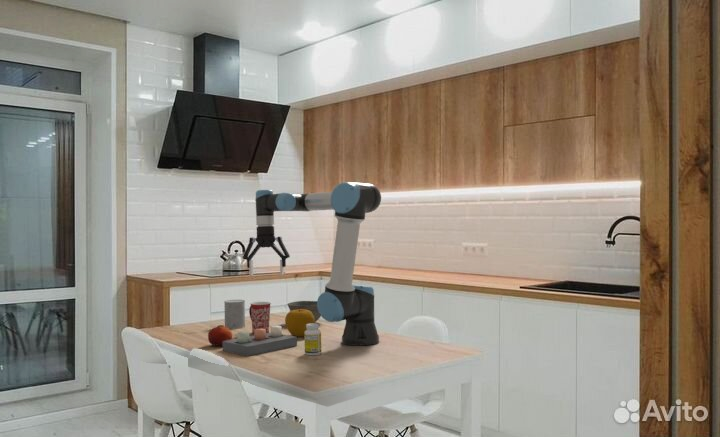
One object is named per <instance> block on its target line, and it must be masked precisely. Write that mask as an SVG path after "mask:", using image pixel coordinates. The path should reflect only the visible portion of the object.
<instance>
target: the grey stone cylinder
mask: <svg viewBox="0 0 720 437" xmlns="http://www.w3.org/2000/svg"><path fill="white" fill-rule="evenodd" d="M245 306H246V301H245V300H244V299H227V300H224V326H225V327H227V328H228V329H229V330H231V329H232V330H235V329H237V328H238V329H243V327H244V328H245V327H246V313H245V312H246V309H245V308H246V307H245Z"/></svg>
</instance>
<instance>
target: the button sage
mask: <svg viewBox="0 0 720 437" xmlns="http://www.w3.org/2000/svg"><path fill="white" fill-rule="evenodd" d="M236 334H237V338H236V339H238V343H239V344H245V343H249V336H250V332H249V331H238V332H237V333H236Z"/></svg>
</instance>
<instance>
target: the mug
mask: <svg viewBox="0 0 720 437" xmlns="http://www.w3.org/2000/svg"><path fill="white" fill-rule="evenodd" d="M271 305H272V303H271V302H270V301H253V302H250V307H249V309H248V310H249V311H248V312H249V314H248V315H249V317H250V321H251V329H252V330H251V331H252V334H253V335H254V330H255V329H266V333H270V319H271Z"/></svg>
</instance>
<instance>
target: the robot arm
mask: <svg viewBox="0 0 720 437" xmlns="http://www.w3.org/2000/svg"><path fill="white" fill-rule="evenodd" d="M381 201H382V195H381V191H380V190H379V188H378V187H376V186H375V185H374V184H372V183H365V182H364V183H363V182H355V181H354V182H353V181H347V182H341V183H339V184H338V185H337V186H335V187H334V189H333V190H332V191H327V192H313V193H311V192H310V193H291V192H280V193H274V191H273V190H272V189H260V190H256V192H255V214H256V215H255V216H256V217H255V219H256V221H255V222H256V237H252V236H251V237H249V240H248V241H249V242H248V245H247V247H246V249H245V251H244V254H243V255H242V259H243V260H246V263H247V266H246V267H247V268H248V269H249V276H250V277H251V276H254V260H253V258H254V256H255V255H256V254H257V252H258V251H259V250H260V249H261V248H262V249H263V248H271V249H273V251H274V252H275V253H276V254H277V255H278V256H279V257H280V258H281V259H280V260H279V271H280V272H279V274H280V276H283V275H284V273H285V270H284V268H286V266H287V264H286V262H287V261H286V260H287V259H289V258H290V257H291V255H290V254H289V251H288V250H287V248H286V246H285V244H284V242H283V237H282V236H277V237H276V236H275V226H274V225H275V216H274V214H275V212H313V211H331V210H333V211H334V217H335V219H337V223H336V224H337V225H336V232H335V233H336V234H335V239H334V240H335V241H334V249H333V255H332V261H331V270H330V280H329V281H328V282H326V284H324V285H325V286H324V292H322V293H321V294H320V295H319V296H318V298H317V300H316V301H317V308H318V311H319V313H320V314H321V318H322V319H324V320H325V321H326V322H330V323H337V322H341V321H345V326H344V328H343V332H342V333H343V334H342V335H341V343H342V344H344V345H348V346H370V345H375V344H378V343H379V342H380V336H379V334H378V330H377V327H376V323H375V291H374V289H375V288H373V286H369V285H367V286H366V285H356V284H353V277H354V271H355V262H356V257H357V249H358V242H359V234H360V226H361V223H362V222H364V221H365V220H366V214H368V213H372V212H374V211H376V210H377V209H378V208H379V207H380V205H381ZM255 242H257V244H256V245H255V248H253V245H254V244H255ZM275 242H277V243H278V245H279V247H280V248H281V250H280V249H279V247H277V245H276V244H275ZM252 248H253V250H252ZM251 250H252V251H251Z"/></svg>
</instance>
